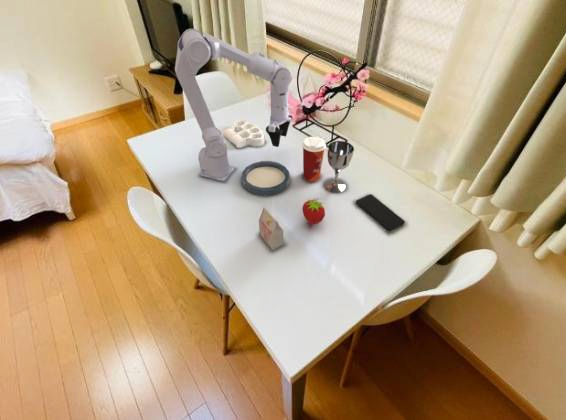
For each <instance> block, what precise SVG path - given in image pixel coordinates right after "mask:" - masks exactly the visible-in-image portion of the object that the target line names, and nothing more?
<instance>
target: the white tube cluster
mask: <svg viewBox="0 0 566 420" xmlns="http://www.w3.org/2000/svg"><path fill="white" fill-rule="evenodd" d="M264 132H265V131H263V130H262V129H261V128H260V127H259V126H257V125H256V124H255V123H252V122H247V121H246V120H245V119H239V120H238V119H237V120H235V121H234V122H233V123H232V126H230V127H228V128H226V129H224V130H223V131H221V135H222V137H225V138H226V139H227V140H229V142H231V143H232V144H233V145H234V146H235V147H236V148H239V149H240V148H244V147H247V146H251V147H254V148H255V147H256V148H258V147H262V146H264V144H265V134H264Z"/></svg>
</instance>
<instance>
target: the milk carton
mask: <svg viewBox="0 0 566 420" xmlns="http://www.w3.org/2000/svg"><path fill="white" fill-rule="evenodd" d="M258 228H259V236H260V237H261V238H262V239H263V241H264V242H265V243H266V245H267V247H268V248H270V250H271V251H274V250H276V249H277V248H280V247H282V246H283V245H284V229H283V228H282V227H281V226H280V224H279V222H278V221H277V220H276V218H275V217H274V216H273V215H272V213H270V211H269V210H268V209H267V208H266V207H265V206H264V207H262V211H261V214H260V216H259V219H258Z"/></svg>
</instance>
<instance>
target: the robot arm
mask: <svg viewBox="0 0 566 420" xmlns="http://www.w3.org/2000/svg"><path fill="white" fill-rule="evenodd" d="M201 32H202V31H200V30H198V29H196V28H188V29H186V30H185V31H183V33H182V34H181V36H180V38H179V39H178V41H177V51H176V57H175V65H174V71H175V75H176V77H177V80H178V82H179V84H180V86H181V88H182V91H183V93H184V96H185V98H186V100H187V102H188V104H189V106H190V109H191V111H192V113H193V115H194V117H195V119H196V122H197V124H198V126H199V128H200V130H201V137H202V141H203V143H204V145H205V147H201V149H200V150H199V152H198V159H197V160H198V164H199V168H200V169H199V170H200V173H199V174H200V176H201V177H205V178H210V179H212V180H217V181H220V182H225V181H226V180H227V178H229V176H230V175H231V174H232V173H233V172H234V170H235V167H233V166H230V163H229V156H228V151H227V150H228V146H227V144H226V142H225V140H224V138H223V135H222V131H220V129H219V128H218V127H216V125H215V122H214V120H213V118H212V115H211V112H210V111H209V110H210V109H209V108H208V106H207V103H206V100H205V98H204V96H203V92H202V91H201V88H200V85H199V83H198V80H197V78H196V76H197V73H198V72H199V70H200V69H201V68H202V67H203V66H205V65H206V64H207V63H208V62H209V61H210V59H211V60H212V61H216V60H217V59H219V58H223V59H226V60H228V61H230V62H234V63H236V64H239V65H241V66H243V67H245V68H246V70H247V72H248V73H249V74H251V75H253V76H255V77H257V78H260V79H262V80H265V81H267V82H269V85H270V86H269V87H270V90H269V92H270V116H269V124H268V125H267V126H266V127H265V133H267V135H268V136H269V139H270V142H271V145H272V147H275V148H278V147H279V146H280V143H281V136H282V137H287V135H288V131H289V127H290V124H291V122H292V120H293V115H289V114H290V111H291V108H290V107H289V86H290V84H291V83H292V80H293V76H292V75H291V74H292V73H291V72H290V70H289V69H288V68H287V67H286V66H285V65H284V64H282V62H280V61H279V60H276V59H274V60H273V59H270V58H268V57H267V56H266V54H265V53H264V52H261V51H259V53H258V52H252V53H250V54H249V53H247V52H246V51H243V50H241V49H239V48H238V47H236V46H233V45H232V44H229V43H228V42H226V41H224V40H222V39H220V38H218V37H216V36H213V35H211V34H209V33H206V32H202V33H201ZM212 61H211V62H212Z"/></svg>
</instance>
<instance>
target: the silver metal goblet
mask: <svg viewBox="0 0 566 420" xmlns="http://www.w3.org/2000/svg"><path fill="white" fill-rule="evenodd" d="M354 151H355V147H354V146H353V145H352V144H351V143H349V142H347V141H343V140H335V141H332V142H330V143H329V144H328V146H327V154H326V155H327V163H328V165H329V166H330V168H331V169H332V170H333V171H334V178H331V179H328V180H326V181H325V182H324V188H325V189H326V190H327V191H329V192H331V193H336V194H337V193H338V194H339V193H342V192H344V191H345V190H346V184H345V183H344V181H342V180H340V179H338V177H339V174H340V173H341V172H342V171H343V170H345V169H346V168H348V167H349V165H350V164H351V161H352V159H353V156H354V153H355V152H354Z"/></svg>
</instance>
